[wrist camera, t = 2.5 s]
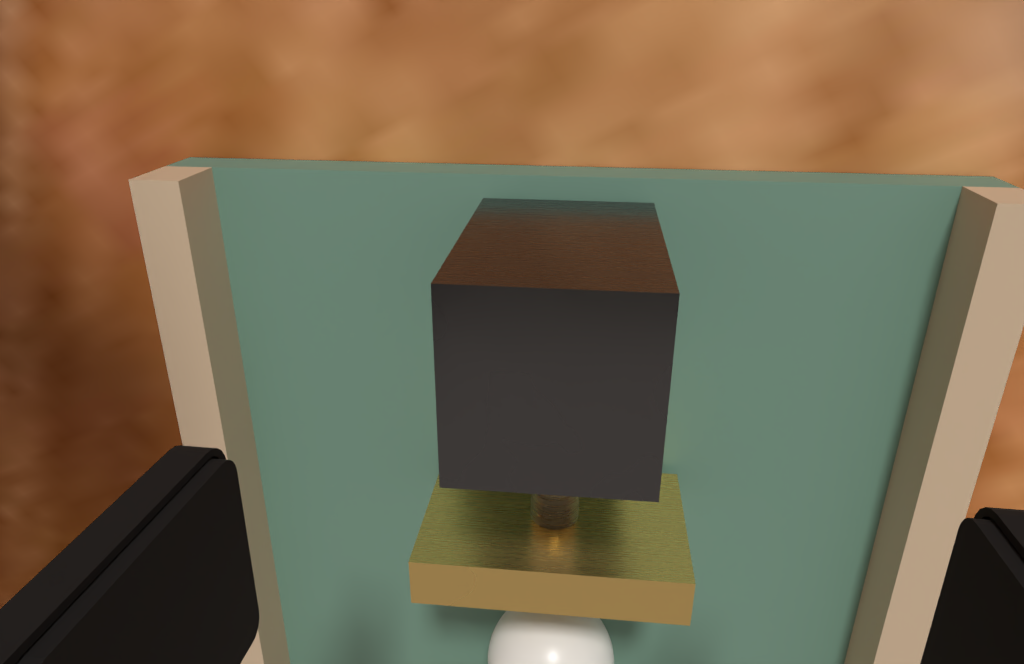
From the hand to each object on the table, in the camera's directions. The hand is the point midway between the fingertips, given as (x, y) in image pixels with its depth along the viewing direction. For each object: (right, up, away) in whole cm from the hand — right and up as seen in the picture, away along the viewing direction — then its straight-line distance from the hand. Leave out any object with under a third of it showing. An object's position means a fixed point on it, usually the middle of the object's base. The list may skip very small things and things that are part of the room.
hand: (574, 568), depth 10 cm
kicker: (+1, +2, +9) cm, 10 cm away
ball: (0, -6, +11) cm, 13 cm away
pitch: (+1, -3, +13) cm, 14 cm away
